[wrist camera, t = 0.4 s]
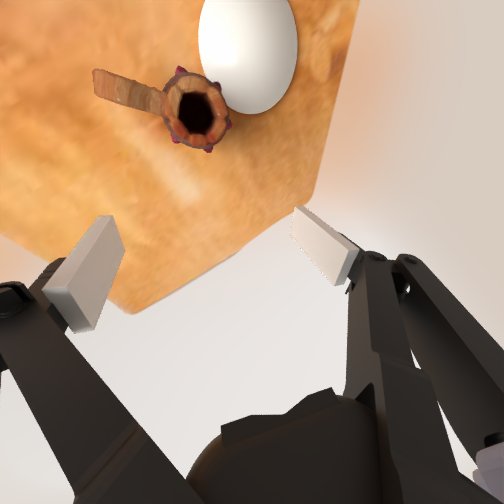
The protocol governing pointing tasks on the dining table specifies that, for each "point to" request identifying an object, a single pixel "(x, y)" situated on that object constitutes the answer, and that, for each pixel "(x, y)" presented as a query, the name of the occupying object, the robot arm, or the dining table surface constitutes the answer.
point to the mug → (174, 104)
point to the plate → (248, 50)
